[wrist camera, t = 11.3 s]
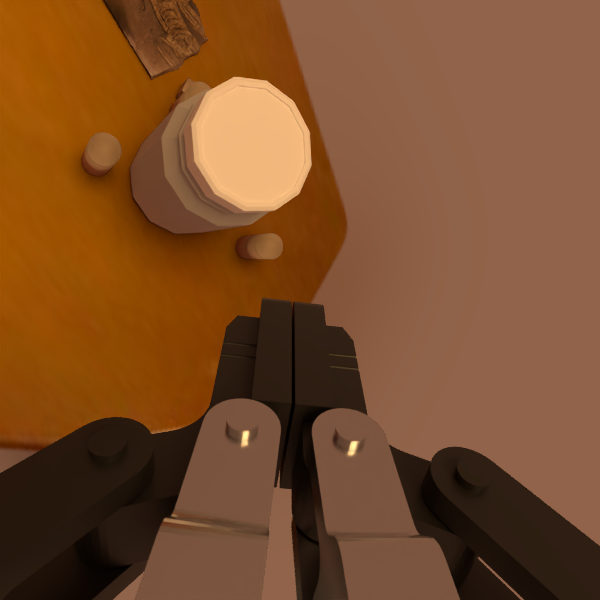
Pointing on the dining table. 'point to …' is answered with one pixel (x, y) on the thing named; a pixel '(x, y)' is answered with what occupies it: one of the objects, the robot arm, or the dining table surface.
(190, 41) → the wooden fragment
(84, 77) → the dining table surface
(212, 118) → the jar
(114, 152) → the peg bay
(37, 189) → the dining table surface
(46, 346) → the dining table surface
